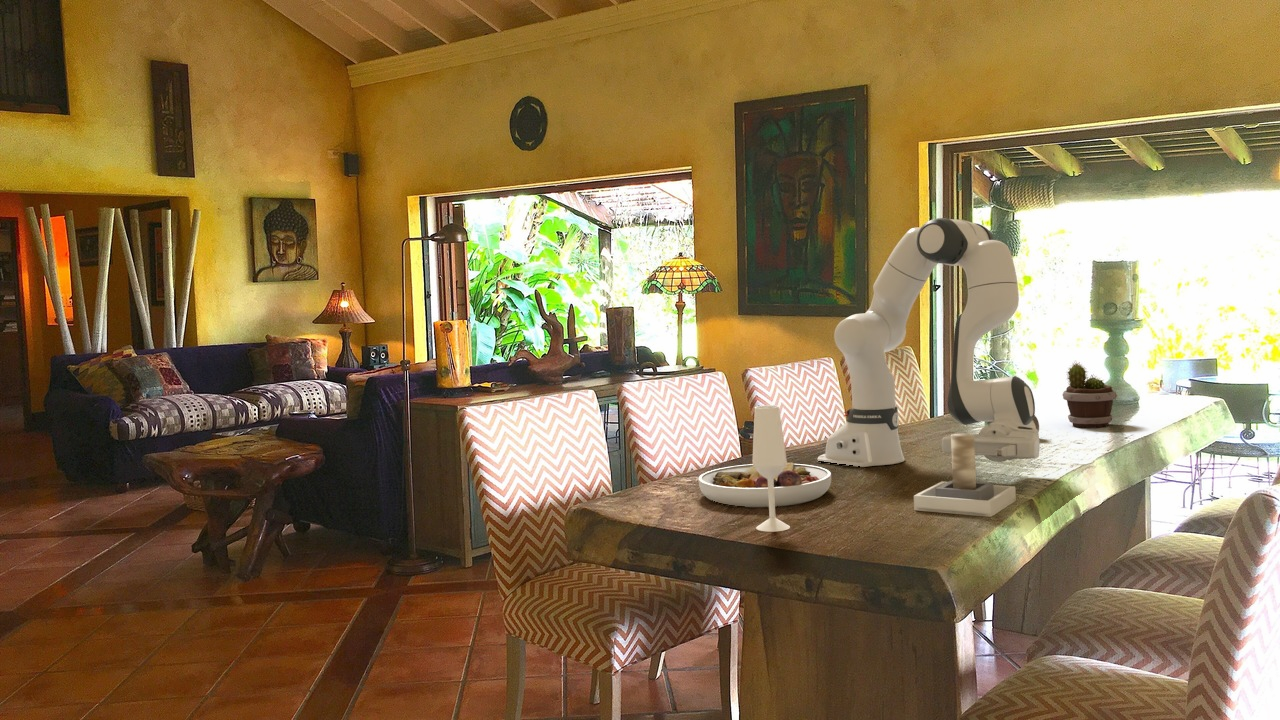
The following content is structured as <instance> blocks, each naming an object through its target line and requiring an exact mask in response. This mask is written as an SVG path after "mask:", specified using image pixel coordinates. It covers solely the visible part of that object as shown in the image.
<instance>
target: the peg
mask: <svg viewBox="0 0 1280 720" xmlns="http://www.w3.org/2000/svg"><path fill="white" fill-rule="evenodd" d="M973 434H974V433H954V434H953V435H952V434H950V435H951V448H952V454H951V465H952V466H951V468H952V471H951V473H952V480H953V488H955V489H968V490H976V482H977V479H976V478H977V477H976V475H977V474H976V455H975V448H974V435H973Z"/></svg>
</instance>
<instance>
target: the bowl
mask: <svg viewBox="0 0 1280 720" xmlns="http://www.w3.org/2000/svg"><path fill="white" fill-rule="evenodd" d="M831 483H832V472H831V471H829V470H828V469H826V468H823V467H821V466H816V465H812V464H810V465H809V464H800V463H794V462H793V461H792V462H787V464H786V466H785V468H784V469H783V471H782V472H781V473H780V474H779V475H778V476H777V477H776V478H774V498H775V508H776V507H777V506H778V507H786V506H794V505H800V504H805V503H808V502H811V501H814V500H816V499H818V498H820V497H822V496H823V495H824V494H826V492H827V491H828V490H829V488H830V486H831ZM698 487H699V490H700V491H701V493H702V495H703V496H705V497H706V498H707V499H708V500H710V501H712V500H713V501H712V502H714V501H715V502H714V503H716V502H719V503H724V504H729V505H735V506H734V507H737V506H745V507H744V508H769V498H768V479H766V478H765V477H763V476H762V475H761V474H760V473H759V472H758V471H757V470H756V469H755V467H754V466H753V463H750V464H740V465H733V466H726V467H721V468H716V469H712V470H708V471H706V472H705V473H704V472H703V473H702V474H700V475H699V476H698ZM719 503H718V504H719ZM729 505H728V506H729Z"/></svg>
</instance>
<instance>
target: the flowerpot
mask: <svg viewBox="0 0 1280 720" xmlns="http://www.w3.org/2000/svg"><path fill="white" fill-rule="evenodd" d="M1080 363H1081V362H1080V361H1079V362H1078V363H1077V361H1075V362H1072V365H1070V366H1069V367H1067V371H1066V380H1067V381H1068V382H1067V383H1068V384H1067V385H1068V386H1067V387H1066V390H1064V391H1063V392H1062V395H1061V396H1062V398H1063V400H1065V401H1066V403H1067V407H1068V411H1069V414H1068V415H1067V418H1068V421H1069V422H1070V423H1072V426H1073V427H1077V428H1088V429H1095V428H1103V427H1108V426H1109V424H1110V423H1111V422H1112V421H1113V415H1112V414H1111V413H1112V411H1113V410H1112V408H1113V403H1114V400H1116V399H1117V396H1118V394H1117V392H1116V390H1115V389H1113V388H1112V385H1106V384H1105V383H1104V380H1105V379H1101V377H1096V375H1094V373H1093V374H1092V375H1090V377H1089V376H1088V373H1089V371H1087V370H1088V369H1087V368H1086V367H1085V366H1083V365H1082V364H1080Z"/></svg>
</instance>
